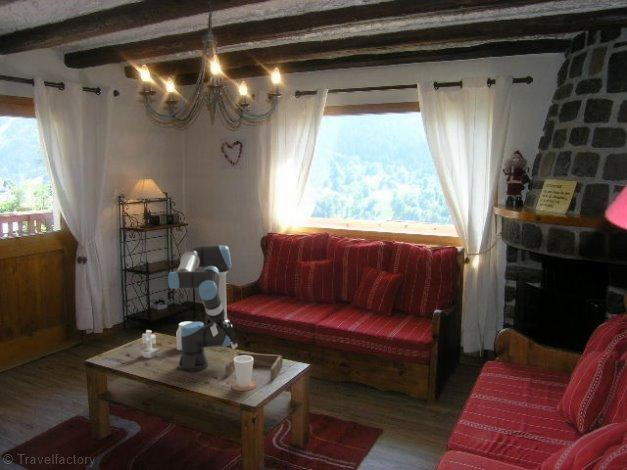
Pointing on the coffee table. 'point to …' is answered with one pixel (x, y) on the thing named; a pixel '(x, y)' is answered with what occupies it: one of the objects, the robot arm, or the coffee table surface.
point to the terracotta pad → (236, 387)
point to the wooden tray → (259, 362)
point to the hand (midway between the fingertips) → (225, 340)
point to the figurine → (149, 344)
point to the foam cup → (243, 370)
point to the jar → (178, 334)
